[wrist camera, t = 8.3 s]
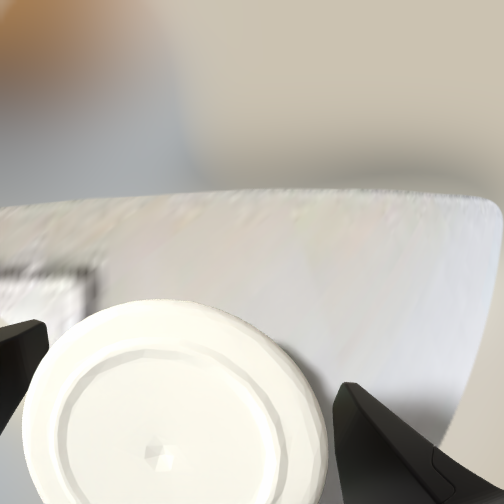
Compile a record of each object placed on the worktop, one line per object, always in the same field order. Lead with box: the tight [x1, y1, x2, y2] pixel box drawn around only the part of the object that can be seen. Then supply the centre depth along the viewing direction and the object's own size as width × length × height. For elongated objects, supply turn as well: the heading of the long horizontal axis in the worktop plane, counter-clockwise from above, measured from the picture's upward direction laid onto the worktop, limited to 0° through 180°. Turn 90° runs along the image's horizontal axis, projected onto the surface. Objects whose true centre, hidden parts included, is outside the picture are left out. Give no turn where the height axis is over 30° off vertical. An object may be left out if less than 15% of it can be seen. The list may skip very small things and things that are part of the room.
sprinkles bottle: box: [22, 299, 329, 504], centre depth 9 cm, size 5×5×13 cm
